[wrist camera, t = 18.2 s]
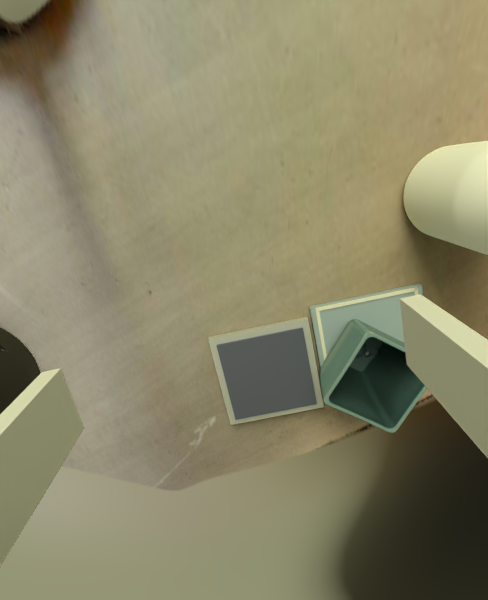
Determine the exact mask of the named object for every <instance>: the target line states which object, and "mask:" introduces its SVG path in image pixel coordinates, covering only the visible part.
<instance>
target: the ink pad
mask: <svg viewBox="0 0 488 600" xmlns="http://www.w3.org/2000/svg"><path fill="white" fill-rule="evenodd" d="M209 344H210V348H211V352H212V356H213V359H214V363H215V367H216V371H217V375H218V378H219V382H220V386H221V390H222V394H223V397H224V401H225V405H226V409H227V413H228V416H229V420H230V424H231V425H234V424H239V423H244V422H249V421H255V420H260V419H265V418H270V417H275V416H280V415H286V414H291V413H296V412H301V411H306V410H311V409H317V408H322V407H324V405H323V399H322V394H321V388H320V383H319V377H318V372H317V366H316V360H315V355H314V349H313V344H312V338H311V333H310V327H309V322H308V318H307V317H303V318H298V319H293V320H288V321H283V322H278V323H274V324H269V325H264V326H259V327H254V328H249V329H244V330H240V331H235V332H230V333H225V334H220V335H215V336H210V337H209Z"/></svg>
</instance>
